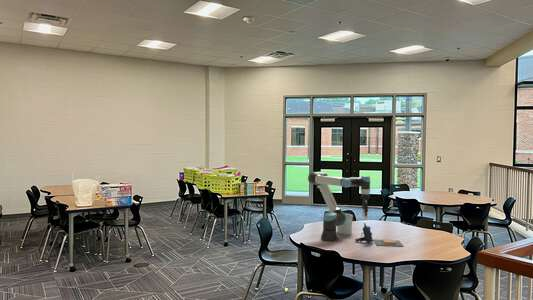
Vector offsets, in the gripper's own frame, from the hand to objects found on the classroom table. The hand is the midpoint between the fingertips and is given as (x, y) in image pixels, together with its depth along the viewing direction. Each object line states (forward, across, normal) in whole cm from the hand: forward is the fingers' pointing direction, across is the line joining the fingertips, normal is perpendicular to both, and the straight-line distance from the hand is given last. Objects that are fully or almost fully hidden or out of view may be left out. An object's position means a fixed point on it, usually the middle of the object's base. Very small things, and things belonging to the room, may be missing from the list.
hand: (364, 218), depth 339 cm
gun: (+22, 0, 0) cm, 22 cm away
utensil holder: (+22, +33, +15) cm, 42 cm away
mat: (+21, 0, -20) cm, 29 cm away
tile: (+19, 0, -16) cm, 25 cm away
